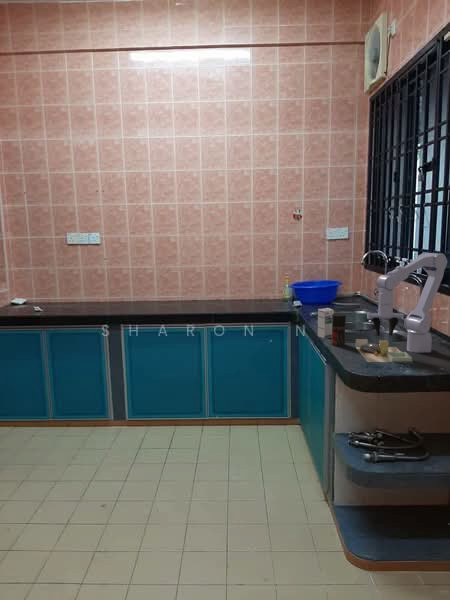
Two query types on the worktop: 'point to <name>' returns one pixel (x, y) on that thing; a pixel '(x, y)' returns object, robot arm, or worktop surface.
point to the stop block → (383, 347)
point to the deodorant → (338, 329)
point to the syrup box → (325, 322)
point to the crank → (367, 346)
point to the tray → (399, 356)
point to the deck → (377, 358)
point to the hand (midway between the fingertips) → (384, 335)
